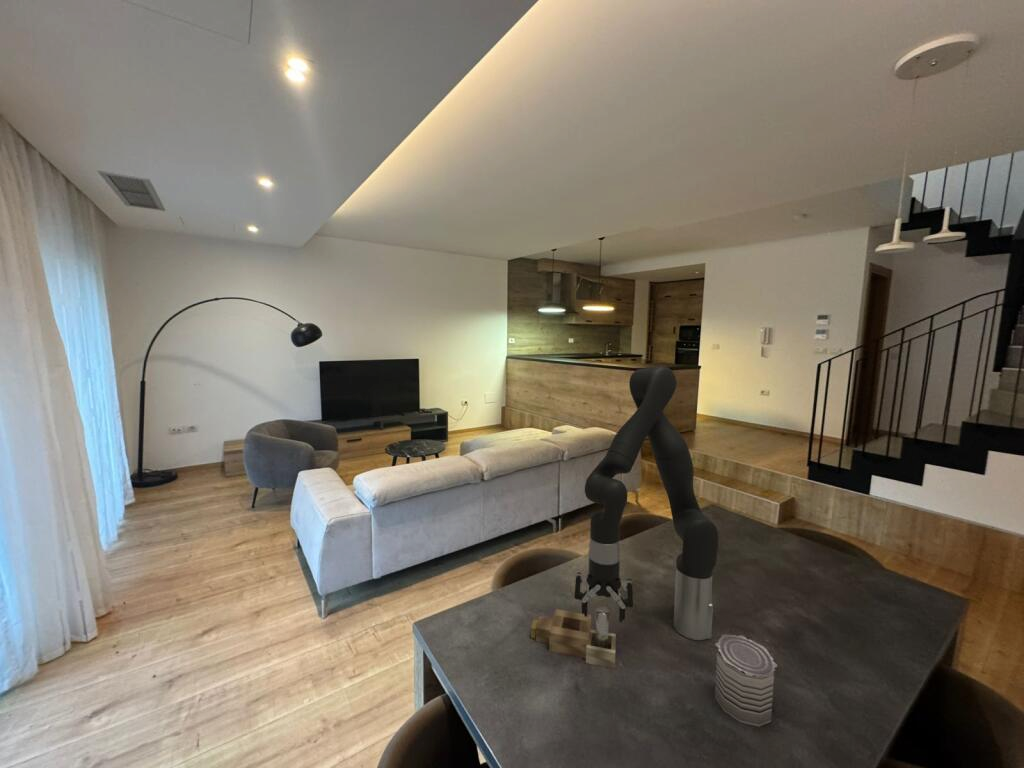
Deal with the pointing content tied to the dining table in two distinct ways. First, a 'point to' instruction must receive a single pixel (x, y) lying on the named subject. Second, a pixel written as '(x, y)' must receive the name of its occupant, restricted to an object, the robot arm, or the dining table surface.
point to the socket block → (565, 632)
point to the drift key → (534, 628)
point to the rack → (601, 651)
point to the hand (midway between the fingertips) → (603, 617)
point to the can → (744, 679)
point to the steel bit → (602, 627)
